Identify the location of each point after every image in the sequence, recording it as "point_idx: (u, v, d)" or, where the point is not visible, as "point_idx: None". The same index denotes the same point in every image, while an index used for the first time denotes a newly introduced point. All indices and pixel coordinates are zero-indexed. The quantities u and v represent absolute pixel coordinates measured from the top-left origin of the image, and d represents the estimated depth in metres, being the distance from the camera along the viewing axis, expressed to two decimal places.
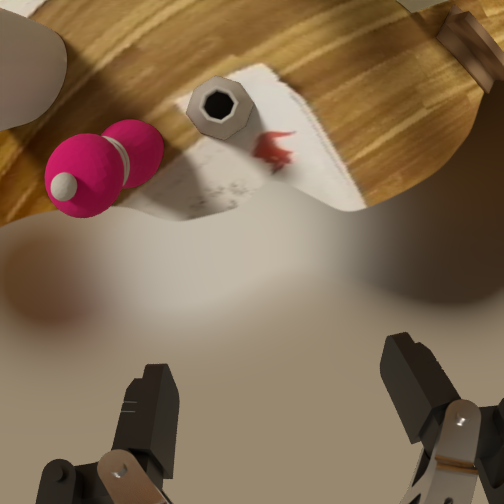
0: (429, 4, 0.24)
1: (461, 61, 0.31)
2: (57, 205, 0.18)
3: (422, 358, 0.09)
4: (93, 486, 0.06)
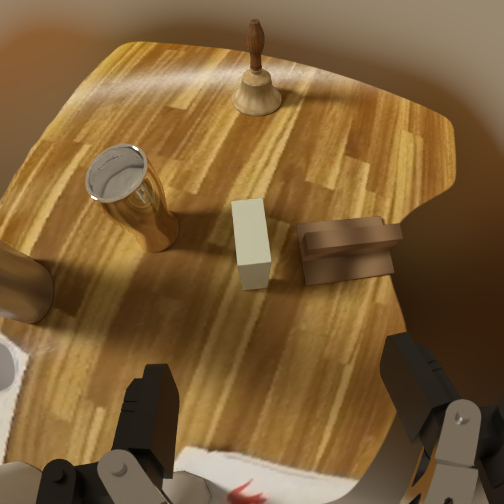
0: (265, 278, 0.34)
1: (345, 279, 0.39)
2: None
3: (422, 358, 0.09)
4: (93, 486, 0.06)
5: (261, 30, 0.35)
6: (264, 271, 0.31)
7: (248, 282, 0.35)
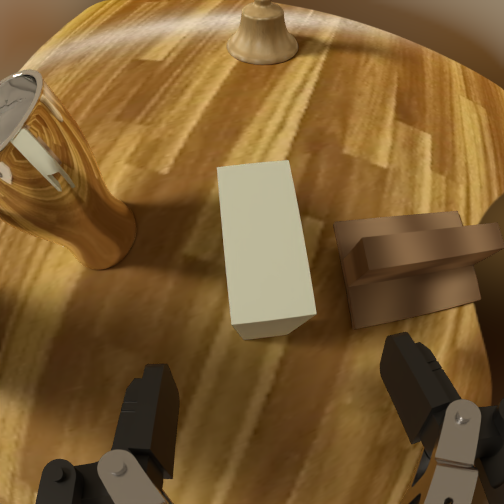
0: (289, 329, 0.17)
1: None
2: None
3: (422, 358, 0.09)
4: (93, 486, 0.06)
5: None
6: (292, 324, 0.14)
7: (255, 335, 0.18)
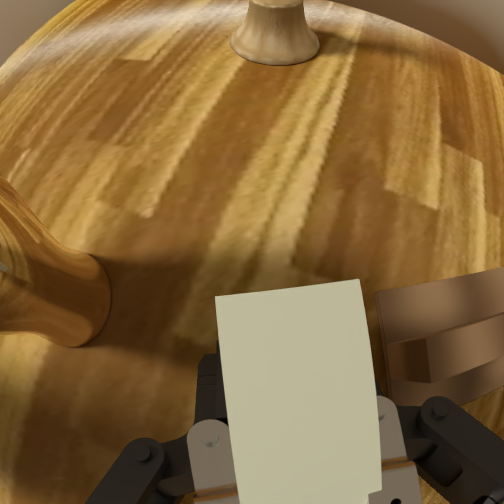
0: None
1: (464, 402, 0.14)
2: None
3: None
4: (177, 474, 0.07)
5: None
6: None
7: None
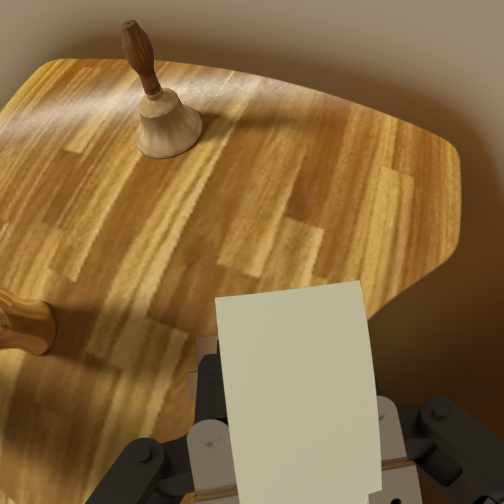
0: None
1: None
2: None
3: None
4: (177, 474, 0.07)
5: (141, 35, 0.21)
6: None
7: None
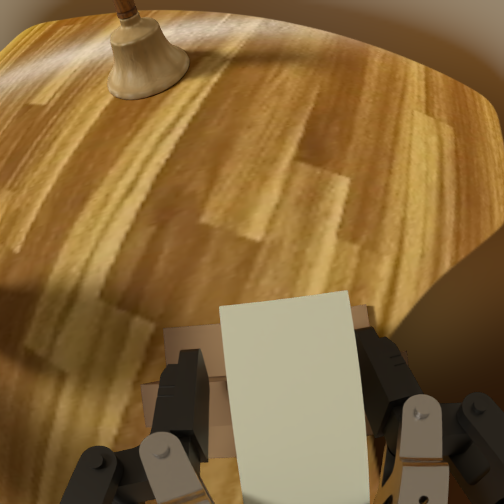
0: None
1: None
2: None
3: (384, 352, 0.10)
4: (132, 478, 0.06)
5: None
6: None
7: None
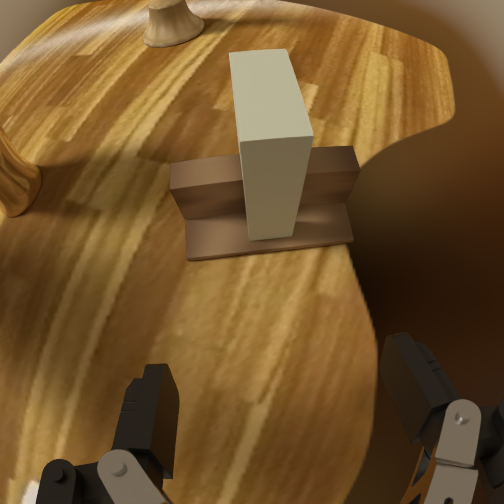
0: (293, 206, 0.18)
1: (258, 250, 0.22)
2: None
3: (422, 358, 0.09)
4: (93, 486, 0.06)
5: None
6: (294, 176, 0.15)
7: (260, 215, 0.19)
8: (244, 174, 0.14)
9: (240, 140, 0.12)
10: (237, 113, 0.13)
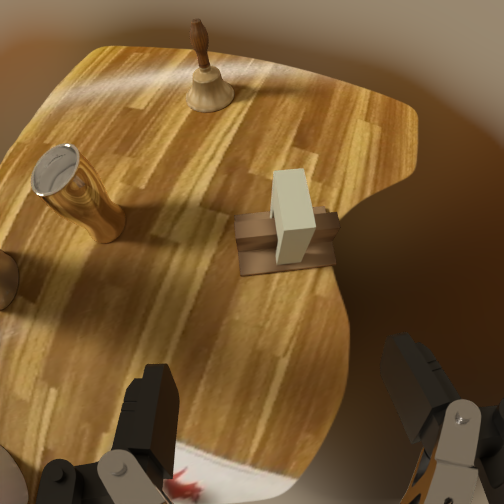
0: (303, 249, 0.35)
1: (282, 270, 0.39)
2: None
3: (422, 358, 0.09)
4: (93, 486, 0.06)
5: (203, 28, 0.36)
6: (305, 239, 0.32)
7: (286, 254, 0.35)
8: (282, 240, 0.31)
9: (284, 229, 0.29)
10: (281, 214, 0.29)
